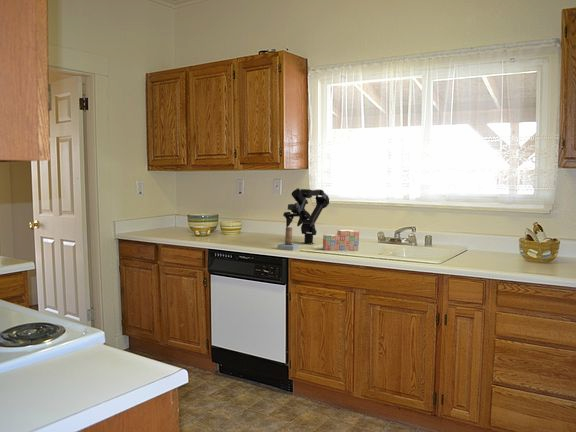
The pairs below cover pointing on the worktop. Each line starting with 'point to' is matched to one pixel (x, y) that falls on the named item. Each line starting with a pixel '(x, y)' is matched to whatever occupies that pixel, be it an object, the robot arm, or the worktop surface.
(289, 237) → the dowel
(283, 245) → the bead block
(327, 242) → the stack of blocks
